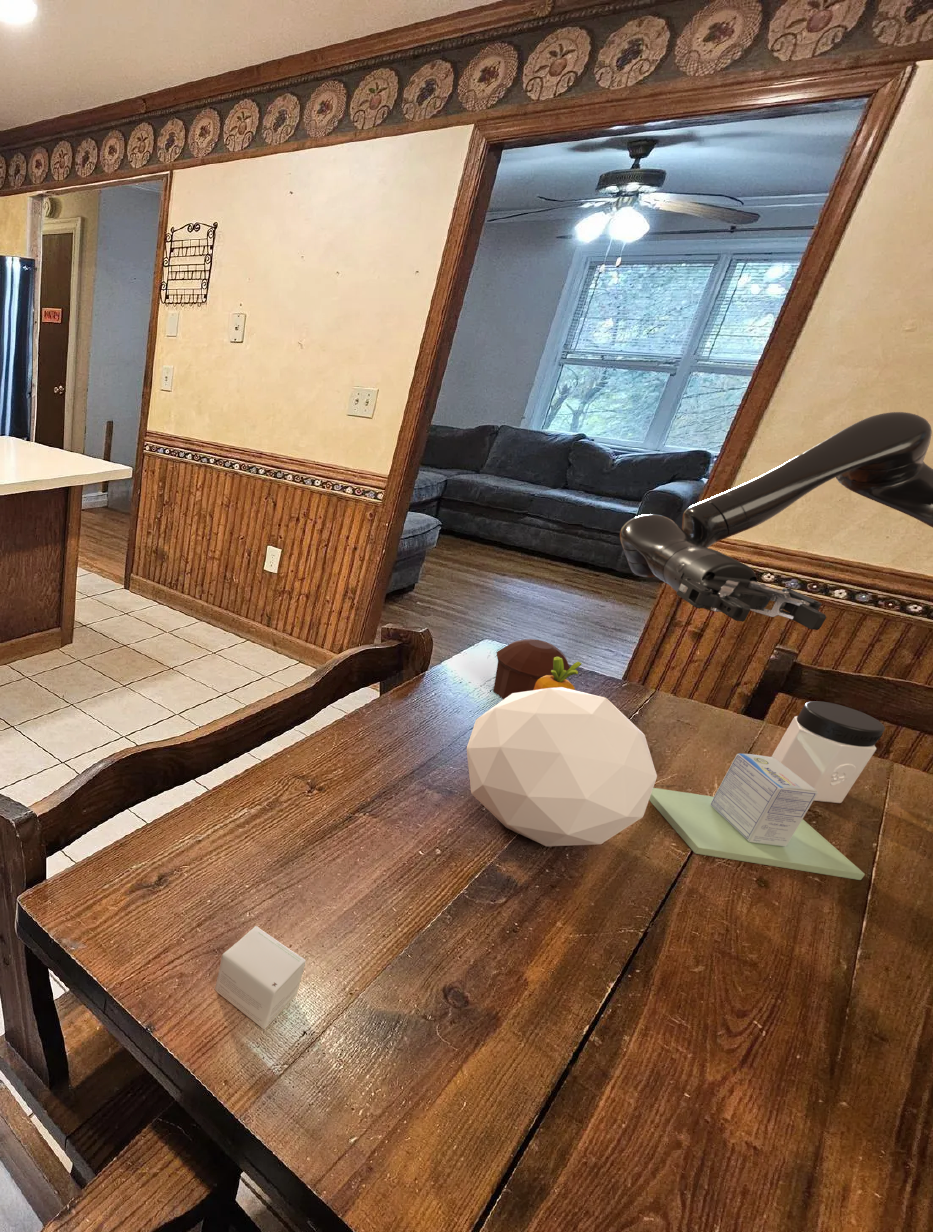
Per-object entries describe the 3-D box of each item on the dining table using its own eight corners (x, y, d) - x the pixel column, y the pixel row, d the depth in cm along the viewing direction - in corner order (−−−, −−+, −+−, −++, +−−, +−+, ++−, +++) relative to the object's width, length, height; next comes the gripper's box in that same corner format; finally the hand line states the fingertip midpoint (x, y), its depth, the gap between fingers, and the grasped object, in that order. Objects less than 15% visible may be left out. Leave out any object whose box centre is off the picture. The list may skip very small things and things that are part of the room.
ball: (496, 883, 93) (451, 791, 83) (483, 760, 106) (443, 669, 96) (685, 878, 81) (658, 772, 72) (644, 741, 95) (617, 636, 85)
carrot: (550, 741, 112) (585, 656, 105) (551, 756, 108) (587, 668, 102) (514, 731, 114) (547, 647, 108) (513, 745, 110) (547, 659, 104)
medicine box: (786, 848, 90) (821, 792, 86) (747, 843, 90) (780, 787, 86) (743, 809, 97) (774, 756, 93) (707, 804, 97) (736, 751, 94)
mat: (786, 813, 98) (790, 807, 98) (861, 880, 87) (865, 874, 86) (641, 791, 101) (644, 786, 101) (694, 853, 89) (698, 847, 89)
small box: (298, 996, 68) (308, 959, 65) (264, 1032, 64) (274, 995, 62) (247, 958, 71) (255, 922, 69) (212, 991, 68) (220, 954, 65)
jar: (791, 800, 101) (835, 727, 96) (747, 766, 108) (786, 697, 103) (859, 806, 101) (907, 734, 95) (810, 772, 108) (852, 703, 103)
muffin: (501, 674, 133) (518, 625, 128) (567, 698, 125) (588, 647, 121) (473, 692, 126) (491, 640, 121) (542, 719, 118) (564, 665, 114)
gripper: (749, 606, 107) (830, 652, 93) (644, 595, 109) (707, 637, 95) (773, 559, 104) (861, 598, 90) (664, 548, 106) (733, 584, 92)
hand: (781, 618), depth 92 cm, fingers open, 8 cm apart
